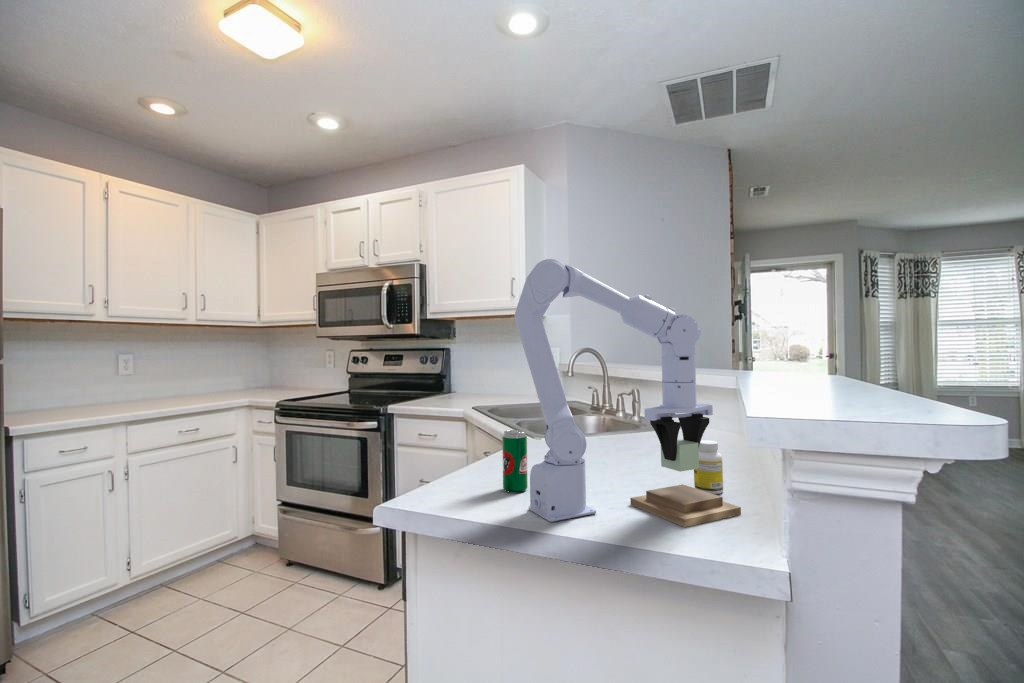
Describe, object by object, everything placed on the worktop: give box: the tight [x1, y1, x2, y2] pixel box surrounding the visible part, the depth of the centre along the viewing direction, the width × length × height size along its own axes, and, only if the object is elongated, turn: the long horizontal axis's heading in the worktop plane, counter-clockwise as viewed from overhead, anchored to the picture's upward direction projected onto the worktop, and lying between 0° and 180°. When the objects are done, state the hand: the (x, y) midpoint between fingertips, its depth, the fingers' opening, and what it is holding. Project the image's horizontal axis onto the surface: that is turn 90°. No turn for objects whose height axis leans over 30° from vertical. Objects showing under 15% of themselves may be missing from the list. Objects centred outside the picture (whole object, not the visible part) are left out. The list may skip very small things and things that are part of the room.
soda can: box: [501, 429, 529, 493], centre depth 97 cm, size 5×5×12 cm
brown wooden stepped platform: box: [629, 484, 742, 528], centre depth 83 cm, size 13×13×3 cm
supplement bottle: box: [693, 439, 724, 495], centre depth 95 cm, size 5×5×10 cm
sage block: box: [660, 438, 699, 472], centre depth 84 cm, size 4×4×4 cm
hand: (680, 458), depth 84 cm, fingers closed on sage block, 4 cm apart
